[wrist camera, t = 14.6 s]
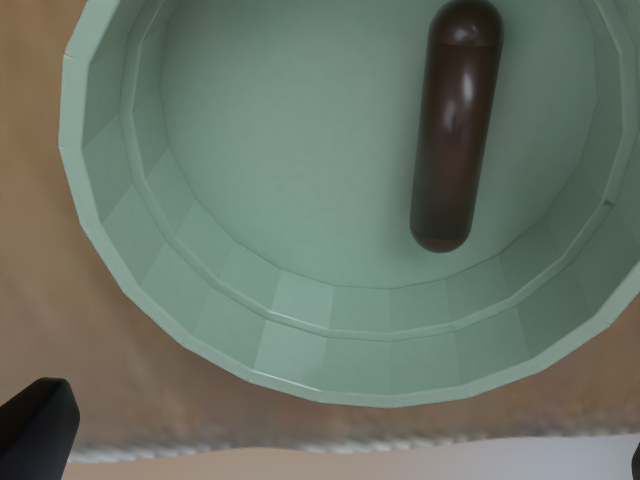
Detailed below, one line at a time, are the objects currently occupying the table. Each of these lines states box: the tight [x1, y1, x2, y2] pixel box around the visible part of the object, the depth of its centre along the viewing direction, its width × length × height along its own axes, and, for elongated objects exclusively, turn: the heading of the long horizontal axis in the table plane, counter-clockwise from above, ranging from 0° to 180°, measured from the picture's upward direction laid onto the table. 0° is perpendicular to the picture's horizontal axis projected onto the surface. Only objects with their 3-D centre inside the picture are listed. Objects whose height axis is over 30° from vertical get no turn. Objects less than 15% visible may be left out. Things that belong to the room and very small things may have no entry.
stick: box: [409, 0, 505, 253], centre depth 17 cm, size 2×8×2 cm
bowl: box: [58, 0, 640, 408], centre depth 17 cm, size 15×15×6 cm
